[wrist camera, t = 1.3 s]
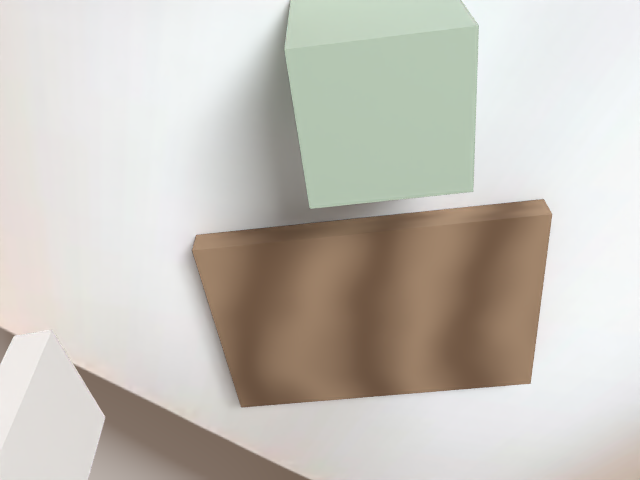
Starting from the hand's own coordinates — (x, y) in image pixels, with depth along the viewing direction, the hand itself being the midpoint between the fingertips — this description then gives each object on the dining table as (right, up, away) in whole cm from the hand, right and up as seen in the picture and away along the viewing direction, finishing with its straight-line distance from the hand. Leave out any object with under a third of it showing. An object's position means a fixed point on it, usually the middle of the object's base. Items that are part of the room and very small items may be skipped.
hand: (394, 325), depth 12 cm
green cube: (+1, +10, +17) cm, 20 cm away
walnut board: (+2, -3, +27) cm, 27 cm away
